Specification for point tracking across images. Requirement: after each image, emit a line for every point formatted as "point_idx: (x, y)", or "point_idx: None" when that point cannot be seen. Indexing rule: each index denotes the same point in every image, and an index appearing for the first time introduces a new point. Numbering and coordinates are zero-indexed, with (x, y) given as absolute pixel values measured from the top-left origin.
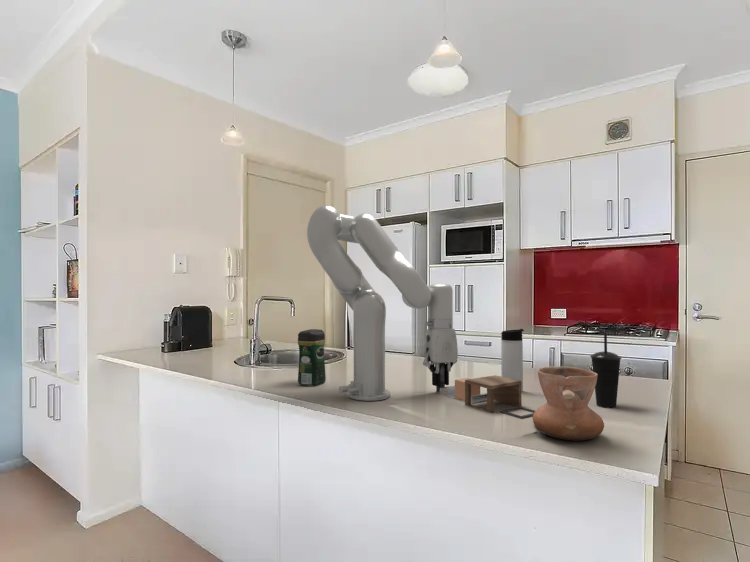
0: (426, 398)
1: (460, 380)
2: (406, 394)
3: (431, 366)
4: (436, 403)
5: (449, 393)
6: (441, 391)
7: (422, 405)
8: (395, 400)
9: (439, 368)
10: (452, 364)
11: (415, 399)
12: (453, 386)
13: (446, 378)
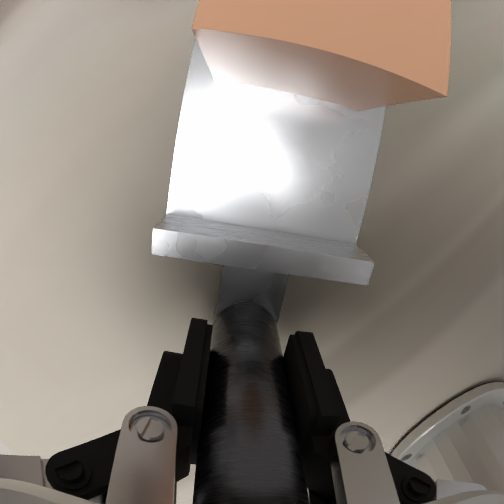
0: (378, 312)
1: (425, 18)
2: (361, 415)
3: (430, 485)
4: (439, 193)
5: (280, 224)
6: (363, 253)
7: (498, 223)
8: (473, 360)
9: (302, 476)
10: (64, 463)
11: (426, 330)
12: (224, 238)
13: (207, 365)
